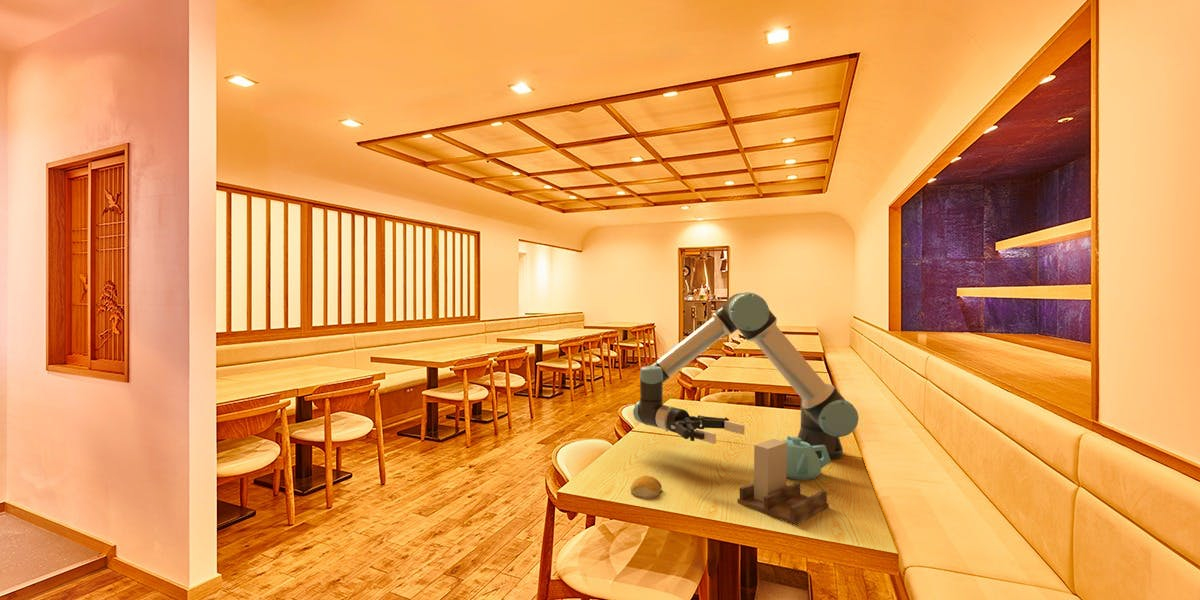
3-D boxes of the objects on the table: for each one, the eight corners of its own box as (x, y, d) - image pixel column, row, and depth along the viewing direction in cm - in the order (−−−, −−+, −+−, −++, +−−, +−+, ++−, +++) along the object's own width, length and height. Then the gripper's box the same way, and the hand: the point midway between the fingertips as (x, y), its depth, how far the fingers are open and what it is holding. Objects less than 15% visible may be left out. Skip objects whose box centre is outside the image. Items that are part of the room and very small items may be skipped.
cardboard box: (772, 489, 131) (773, 438, 131) (786, 494, 128) (786, 442, 128) (753, 498, 125) (754, 445, 125) (767, 503, 122) (768, 448, 122)
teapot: (805, 487, 136) (805, 449, 136) (759, 471, 148) (759, 436, 148) (833, 475, 145) (833, 439, 145) (787, 461, 157) (788, 428, 157)
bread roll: (663, 487, 135) (663, 473, 135) (657, 500, 126) (658, 485, 126) (634, 484, 137) (634, 470, 137) (627, 496, 129) (627, 481, 129)
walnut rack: (771, 487, 135) (771, 473, 135) (828, 507, 123) (828, 491, 123) (737, 502, 125) (738, 487, 125) (796, 525, 113) (796, 508, 112)
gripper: (698, 424, 161) (754, 438, 144) (645, 438, 145) (701, 456, 128) (698, 402, 160) (754, 413, 144) (645, 414, 145) (701, 428, 128)
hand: (730, 434), depth 136 cm, fingers open, 13 cm apart
